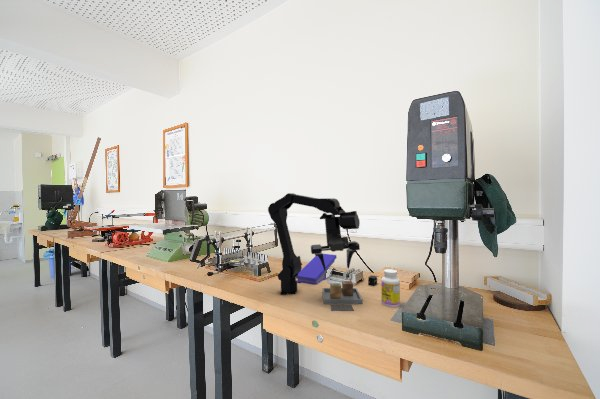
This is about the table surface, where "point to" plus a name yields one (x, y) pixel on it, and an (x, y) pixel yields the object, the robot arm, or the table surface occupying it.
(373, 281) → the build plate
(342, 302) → the parts tray
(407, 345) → the table surface
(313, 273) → the purple flat box
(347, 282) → the walnut block
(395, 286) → the supplement bottle
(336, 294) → the labelled block
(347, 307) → the rubber mat
